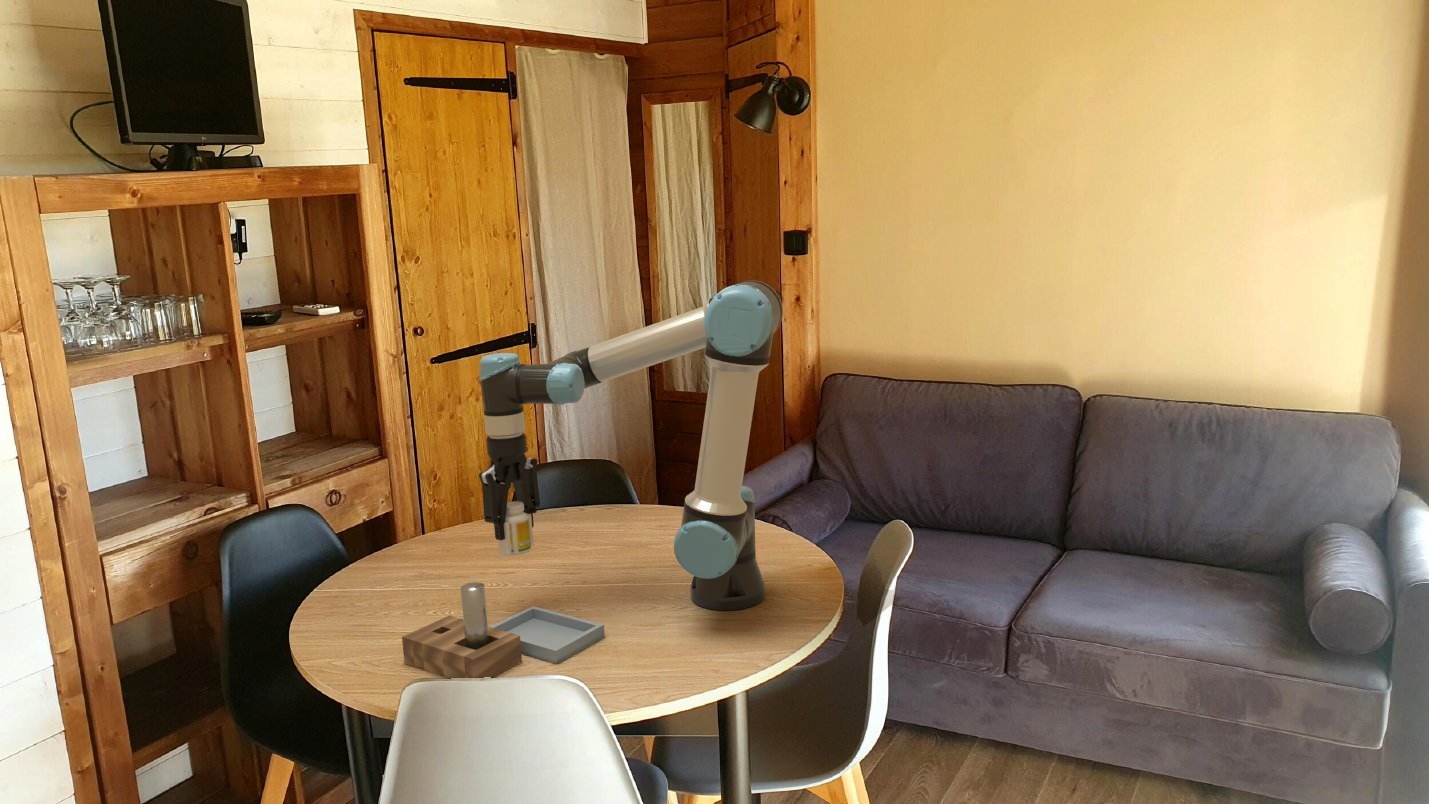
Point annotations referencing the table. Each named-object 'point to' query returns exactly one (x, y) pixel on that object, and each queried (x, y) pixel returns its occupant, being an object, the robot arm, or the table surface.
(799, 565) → the table surface
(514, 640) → the wooden peg board
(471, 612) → the cylinder
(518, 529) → the supplement bottle
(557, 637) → the tray
